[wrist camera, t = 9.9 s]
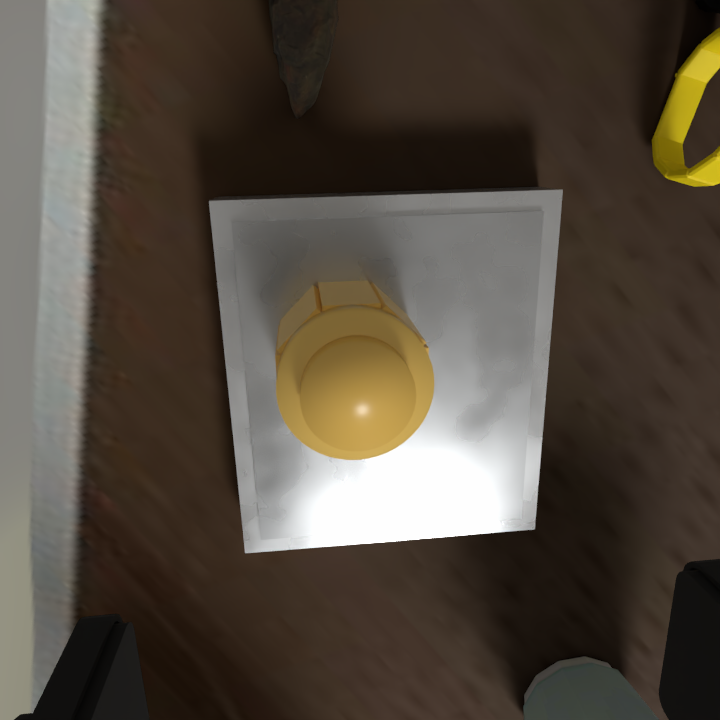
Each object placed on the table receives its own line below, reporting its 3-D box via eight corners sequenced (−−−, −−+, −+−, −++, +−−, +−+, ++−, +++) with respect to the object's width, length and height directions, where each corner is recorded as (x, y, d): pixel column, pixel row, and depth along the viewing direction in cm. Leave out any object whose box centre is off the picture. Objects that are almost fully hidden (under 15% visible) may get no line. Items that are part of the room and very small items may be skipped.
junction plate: (516, 501, 32) (565, 576, 26) (249, 522, 30) (238, 606, 25) (538, 186, 26) (605, 194, 21) (216, 196, 25) (193, 208, 19)
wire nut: (408, 400, 26) (438, 467, 21) (284, 408, 26) (280, 478, 20) (409, 278, 24) (442, 314, 19) (275, 284, 24) (269, 322, 18)
